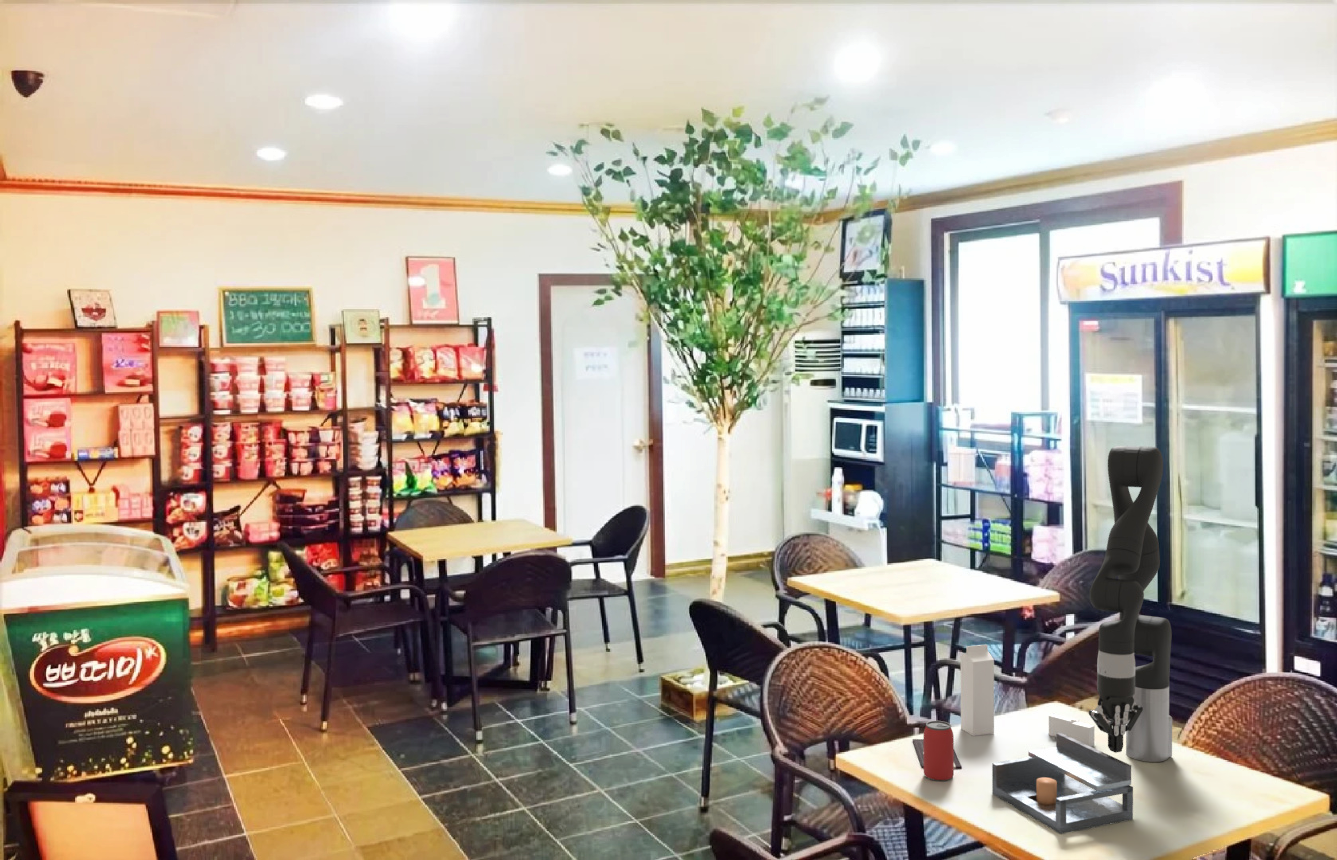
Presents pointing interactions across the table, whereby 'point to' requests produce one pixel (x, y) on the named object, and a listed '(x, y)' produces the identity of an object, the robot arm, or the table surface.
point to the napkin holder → (1071, 729)
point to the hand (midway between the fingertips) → (1115, 751)
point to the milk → (977, 691)
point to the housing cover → (1084, 764)
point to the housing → (1059, 797)
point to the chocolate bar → (920, 752)
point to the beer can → (938, 751)
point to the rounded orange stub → (1046, 791)
